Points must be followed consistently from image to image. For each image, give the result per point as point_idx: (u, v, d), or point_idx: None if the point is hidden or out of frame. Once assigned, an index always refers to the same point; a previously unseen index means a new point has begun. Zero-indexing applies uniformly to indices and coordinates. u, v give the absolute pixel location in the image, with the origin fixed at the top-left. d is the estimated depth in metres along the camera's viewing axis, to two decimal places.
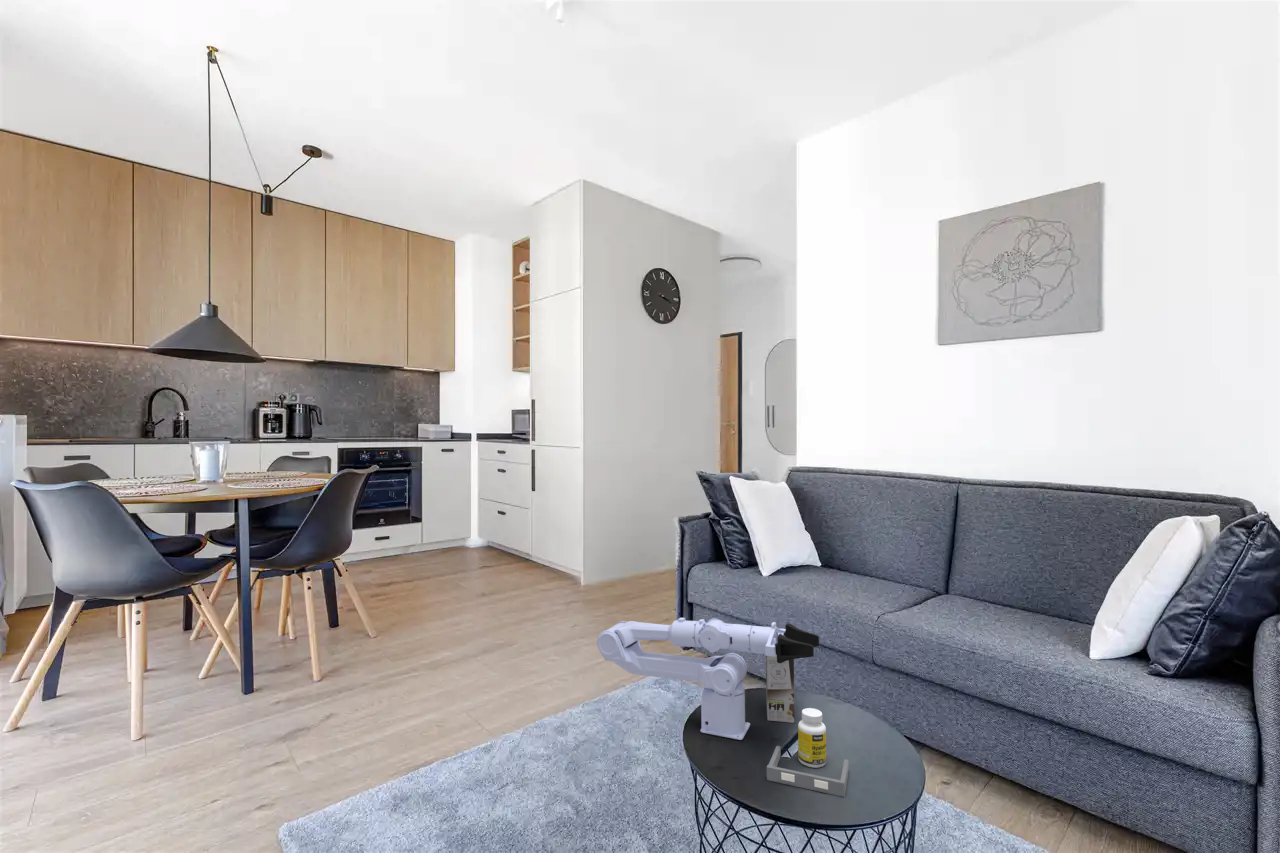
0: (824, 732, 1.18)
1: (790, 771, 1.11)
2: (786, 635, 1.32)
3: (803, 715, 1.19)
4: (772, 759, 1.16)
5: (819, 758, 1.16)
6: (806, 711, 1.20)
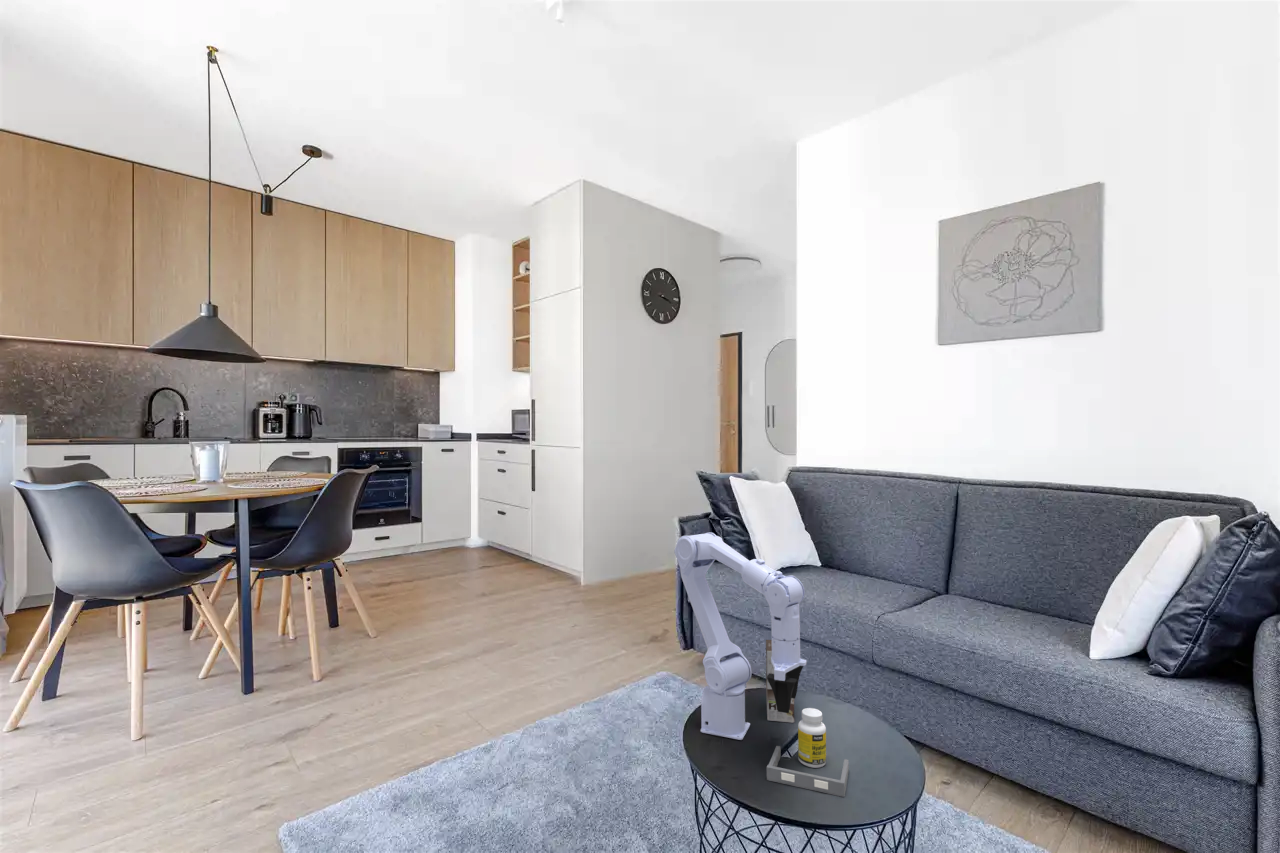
0: (824, 732, 1.18)
1: (790, 771, 1.11)
2: None
3: (803, 715, 1.19)
4: (772, 759, 1.16)
5: (819, 758, 1.16)
6: (806, 711, 1.20)
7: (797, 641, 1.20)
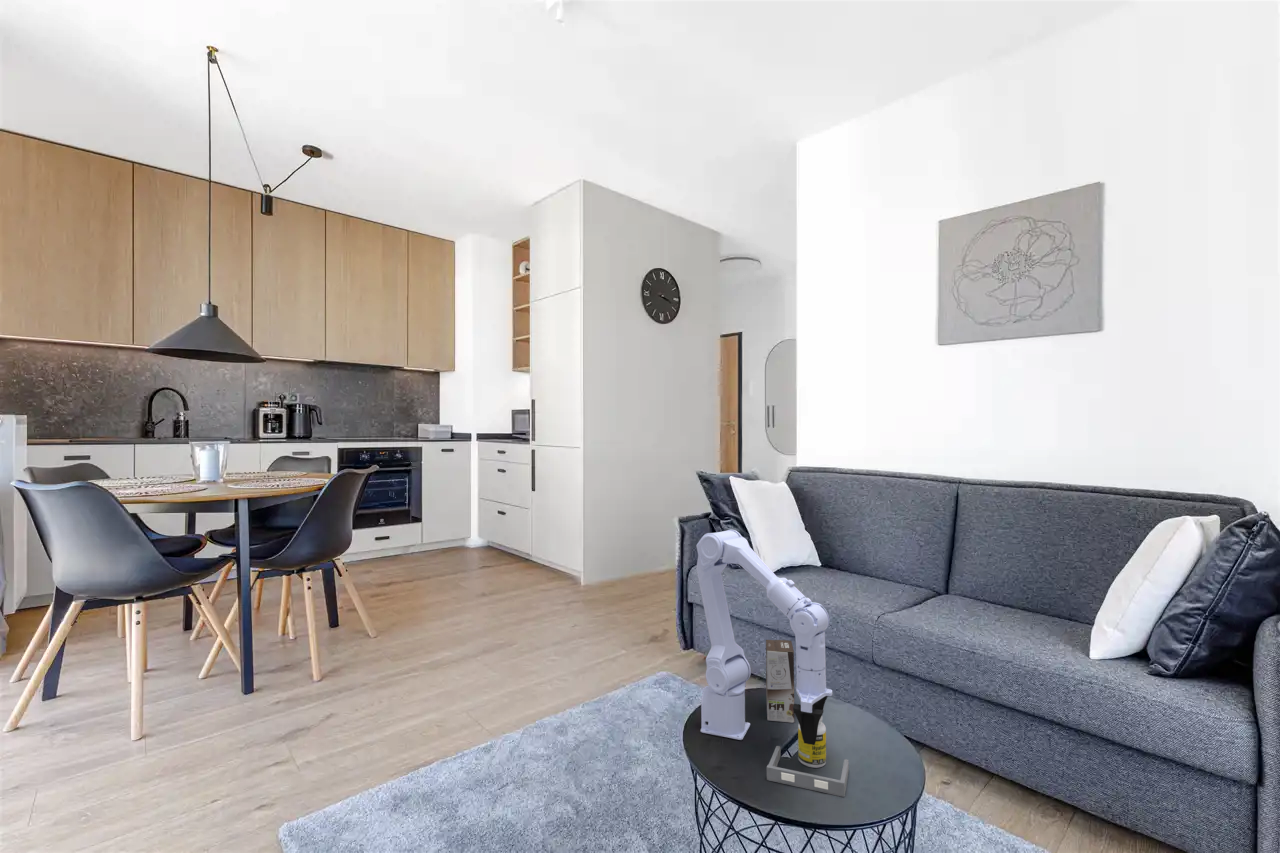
0: (824, 732, 1.18)
1: (790, 771, 1.11)
2: None
3: None
4: (772, 759, 1.16)
5: (819, 758, 1.16)
6: None
7: (823, 671, 1.18)
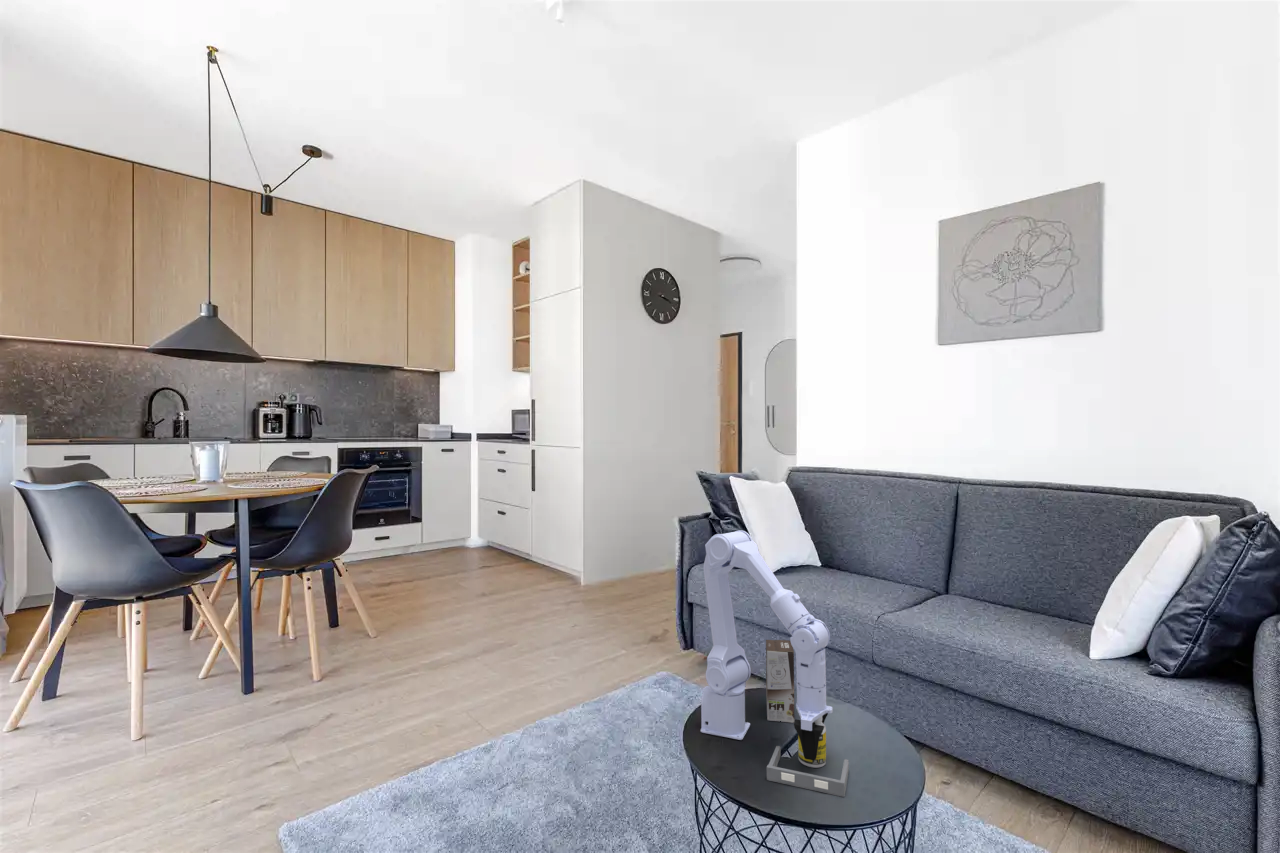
0: (824, 732, 1.18)
1: (790, 771, 1.11)
2: None
3: None
4: (772, 759, 1.16)
5: (819, 758, 1.16)
6: None
7: (823, 688, 1.18)
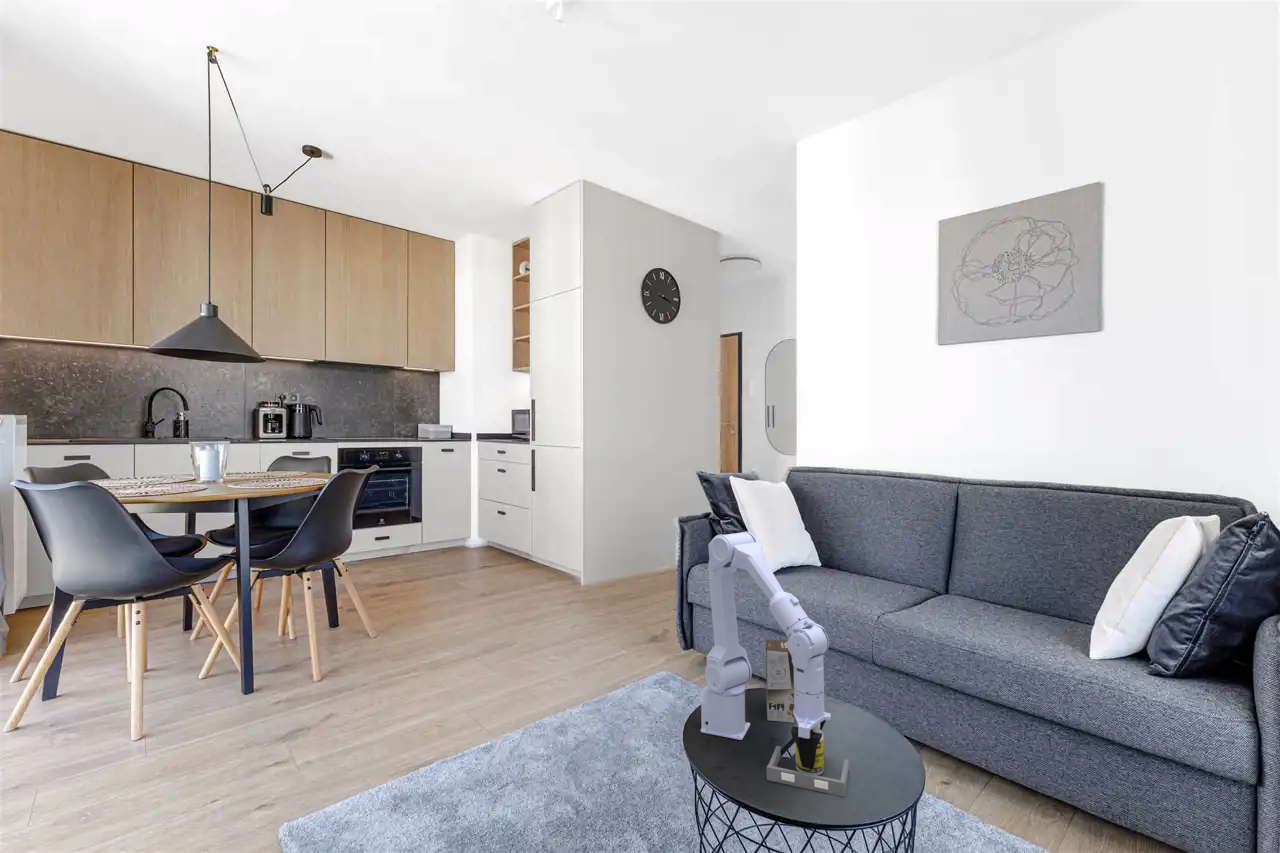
0: (822, 740, 1.15)
1: (790, 771, 1.11)
2: None
3: None
4: (772, 759, 1.16)
5: (816, 766, 1.13)
6: None
7: (821, 694, 1.14)
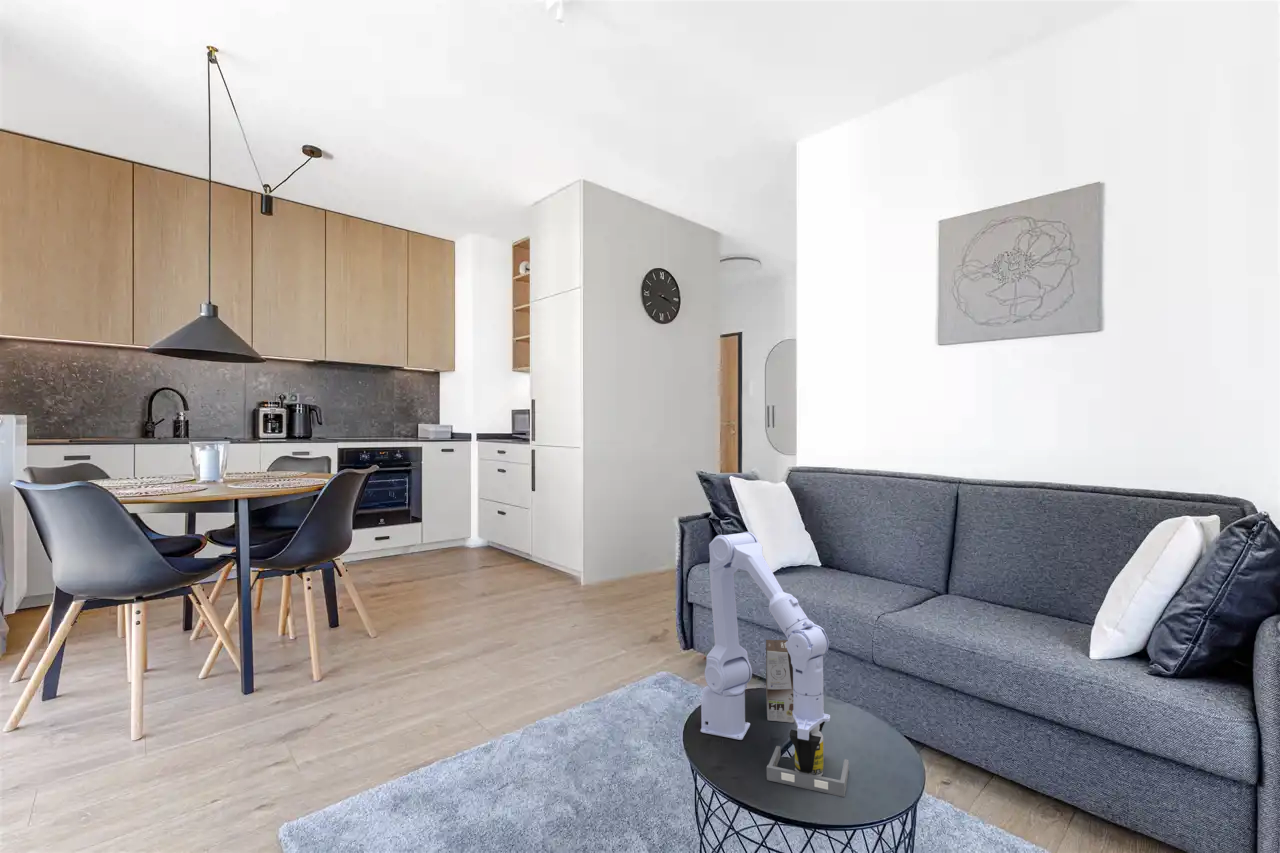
0: (822, 741, 1.14)
1: (790, 771, 1.11)
2: None
3: None
4: (772, 759, 1.16)
5: (816, 768, 1.13)
6: None
7: (821, 696, 1.14)
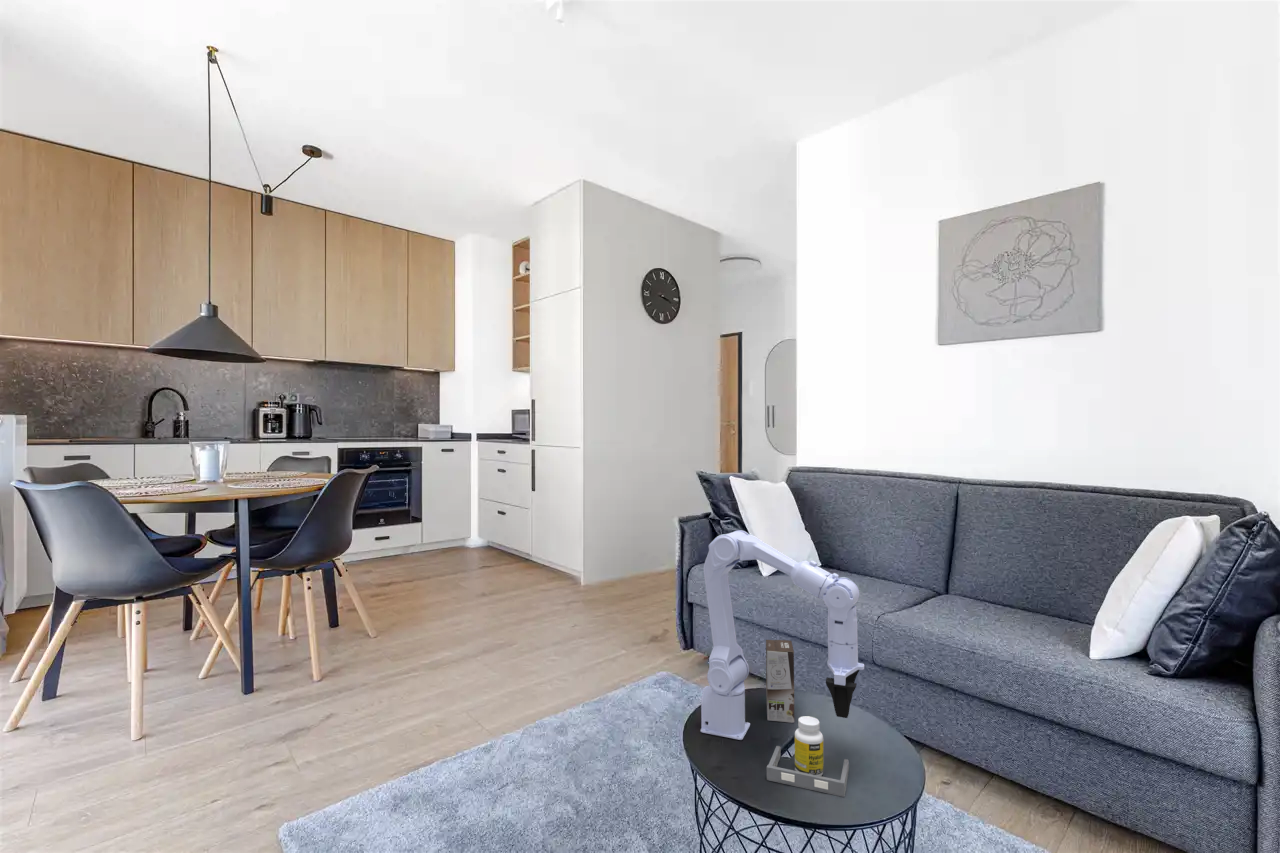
0: (822, 741, 1.14)
1: (790, 771, 1.11)
2: None
3: (800, 723, 1.15)
4: (772, 759, 1.16)
5: (816, 768, 1.13)
6: (802, 719, 1.16)
7: (855, 645, 1.18)
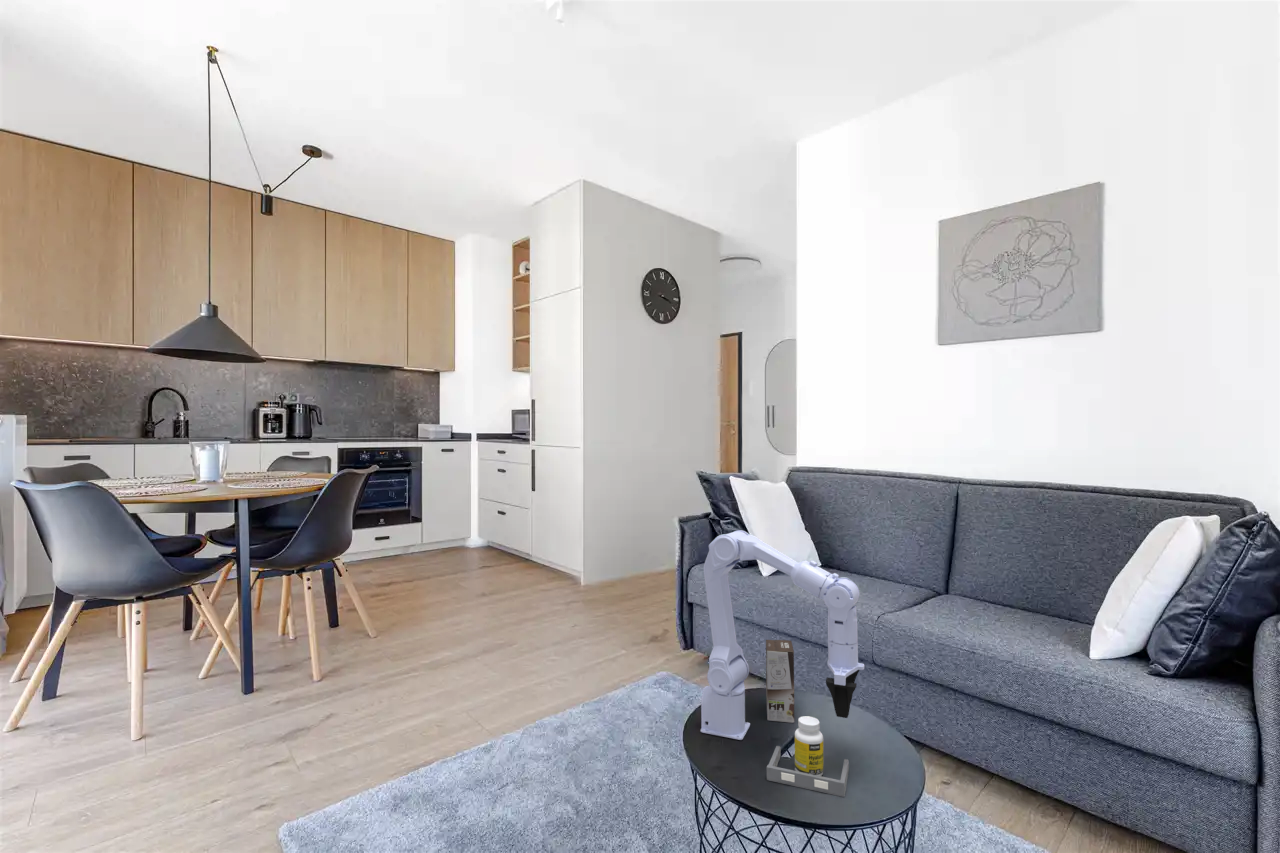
0: (822, 741, 1.14)
1: (790, 771, 1.11)
2: None
3: (800, 723, 1.15)
4: (772, 759, 1.16)
5: (816, 768, 1.13)
6: (802, 719, 1.16)
7: (855, 645, 1.18)
